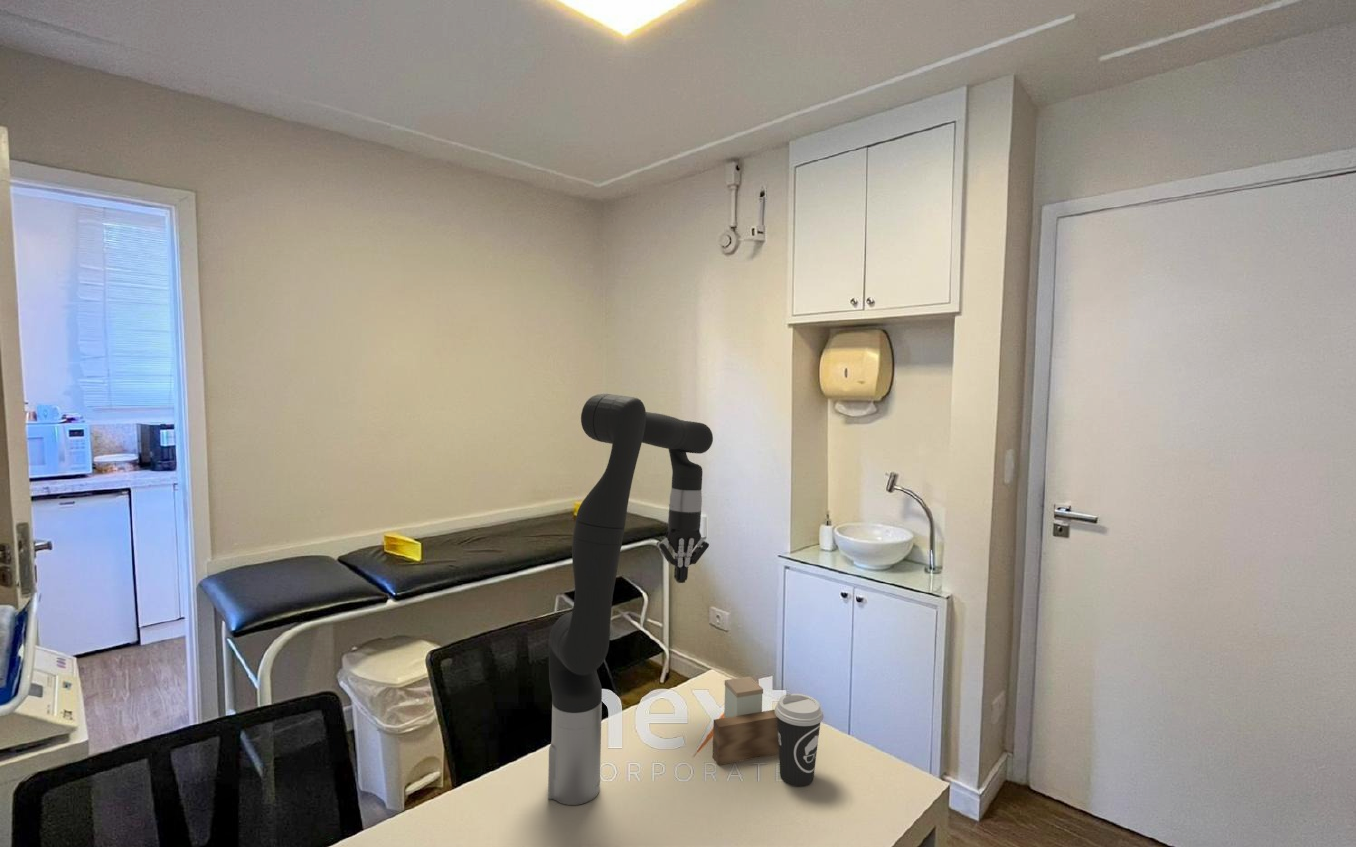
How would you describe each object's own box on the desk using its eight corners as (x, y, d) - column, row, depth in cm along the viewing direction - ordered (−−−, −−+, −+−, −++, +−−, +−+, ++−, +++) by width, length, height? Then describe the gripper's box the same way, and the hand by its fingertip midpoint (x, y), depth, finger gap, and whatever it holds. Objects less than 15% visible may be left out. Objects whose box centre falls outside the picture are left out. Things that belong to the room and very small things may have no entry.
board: (718, 765, 127) (719, 726, 127) (712, 757, 130) (713, 719, 130) (787, 751, 133) (788, 715, 133) (780, 744, 136) (781, 708, 135)
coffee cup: (813, 762, 129) (816, 691, 129) (827, 791, 120) (830, 715, 119) (767, 763, 129) (770, 691, 128) (778, 792, 119) (780, 715, 119)
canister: (735, 753, 132) (736, 693, 131) (722, 738, 138) (724, 680, 137) (761, 748, 134) (763, 688, 134) (748, 733, 140) (749, 676, 139)
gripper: (664, 510, 139) (659, 588, 140) (717, 510, 144) (713, 585, 145) (652, 505, 146) (648, 579, 147) (704, 505, 151) (699, 576, 152)
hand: (680, 582), depth 146 cm, fingers closed
